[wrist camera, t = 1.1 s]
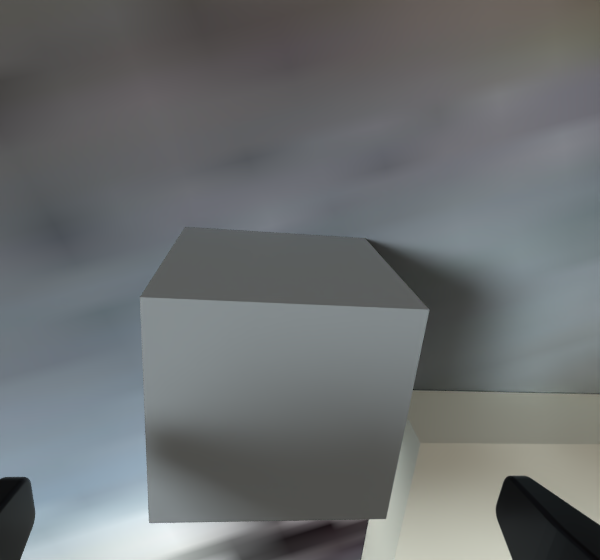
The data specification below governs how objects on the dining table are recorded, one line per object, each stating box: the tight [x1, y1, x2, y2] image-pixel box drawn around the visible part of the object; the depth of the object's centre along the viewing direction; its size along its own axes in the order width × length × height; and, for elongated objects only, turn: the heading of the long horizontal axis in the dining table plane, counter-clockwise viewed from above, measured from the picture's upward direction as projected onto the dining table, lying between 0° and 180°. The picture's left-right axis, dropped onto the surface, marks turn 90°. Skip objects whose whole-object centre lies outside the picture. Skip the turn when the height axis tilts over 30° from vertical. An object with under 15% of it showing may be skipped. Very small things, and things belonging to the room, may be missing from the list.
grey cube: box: [140, 227, 429, 523], centre depth 13 cm, size 6×6×6 cm
